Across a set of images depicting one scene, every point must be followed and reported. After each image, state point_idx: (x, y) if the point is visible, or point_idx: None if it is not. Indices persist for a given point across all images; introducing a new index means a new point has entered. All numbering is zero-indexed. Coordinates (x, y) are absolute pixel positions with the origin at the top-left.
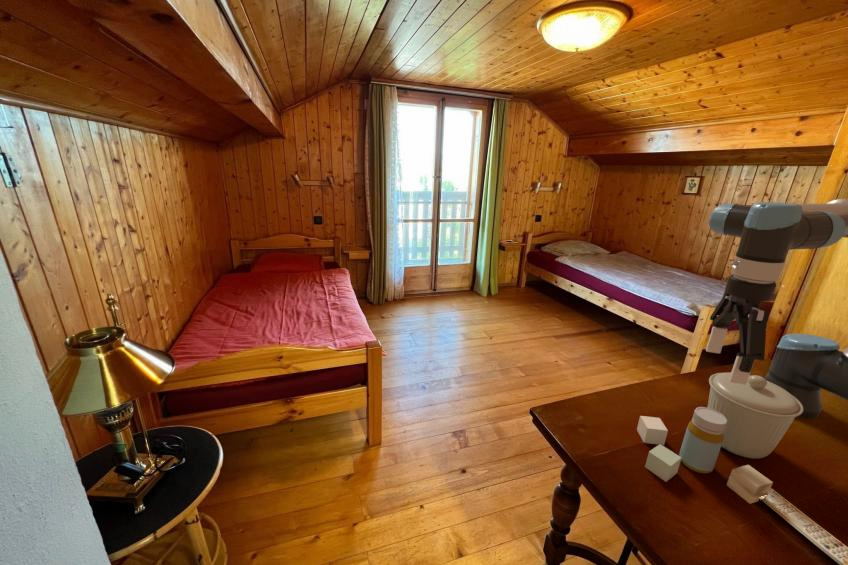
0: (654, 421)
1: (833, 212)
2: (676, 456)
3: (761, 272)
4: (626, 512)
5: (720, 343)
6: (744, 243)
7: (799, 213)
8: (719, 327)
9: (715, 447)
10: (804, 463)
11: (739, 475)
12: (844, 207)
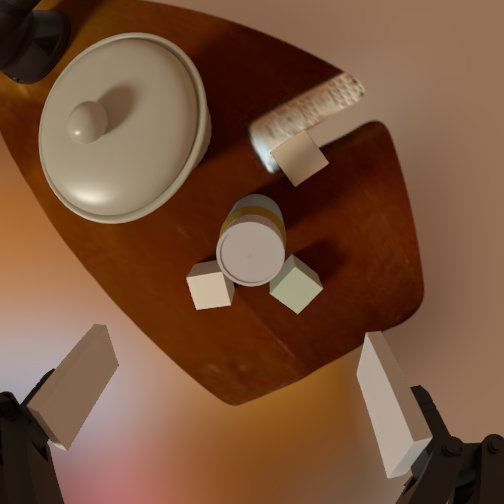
0: (203, 289)
1: None
2: (294, 274)
3: None
4: (380, 327)
5: (85, 364)
6: None
7: None
8: (42, 428)
9: (283, 223)
10: (182, 44)
11: (305, 178)
12: None
